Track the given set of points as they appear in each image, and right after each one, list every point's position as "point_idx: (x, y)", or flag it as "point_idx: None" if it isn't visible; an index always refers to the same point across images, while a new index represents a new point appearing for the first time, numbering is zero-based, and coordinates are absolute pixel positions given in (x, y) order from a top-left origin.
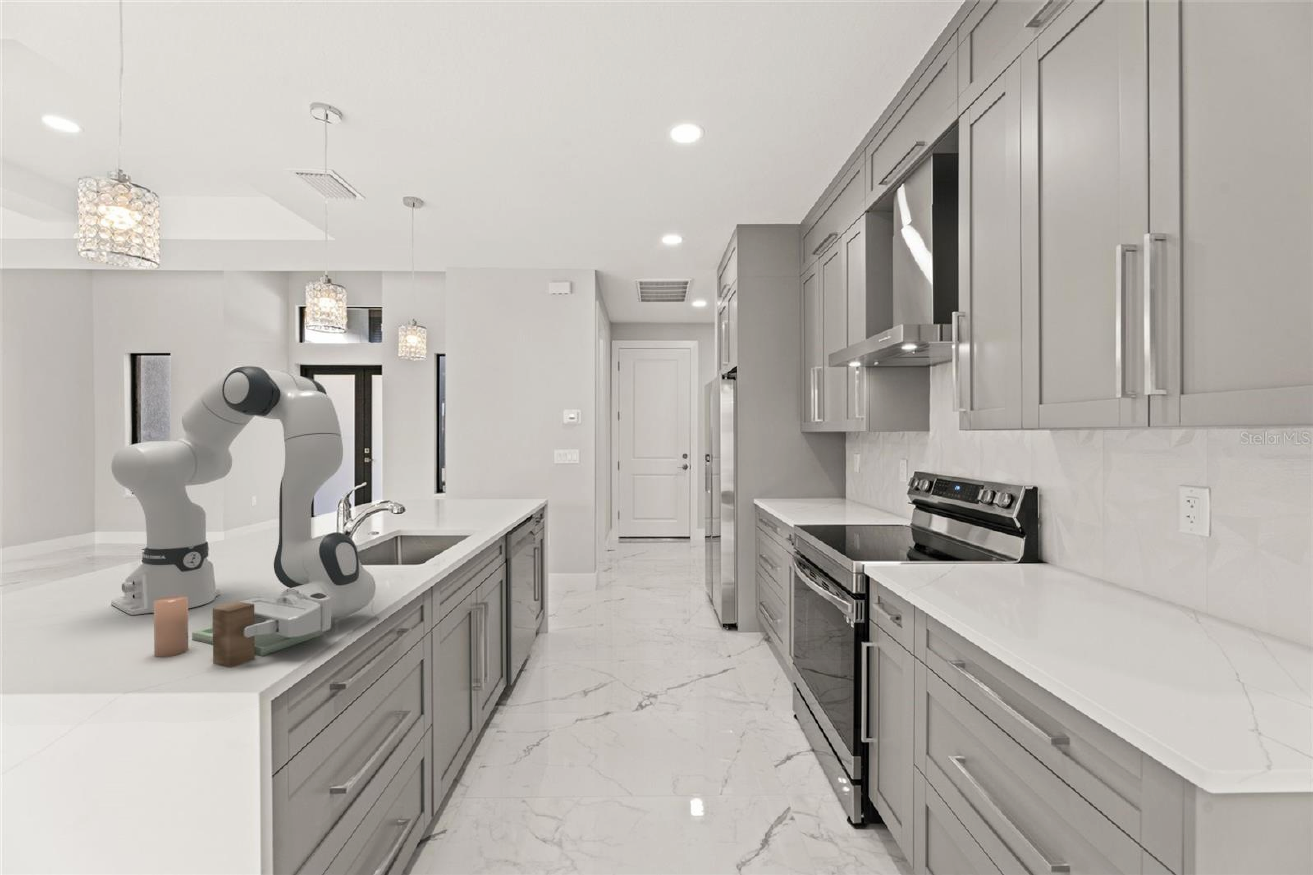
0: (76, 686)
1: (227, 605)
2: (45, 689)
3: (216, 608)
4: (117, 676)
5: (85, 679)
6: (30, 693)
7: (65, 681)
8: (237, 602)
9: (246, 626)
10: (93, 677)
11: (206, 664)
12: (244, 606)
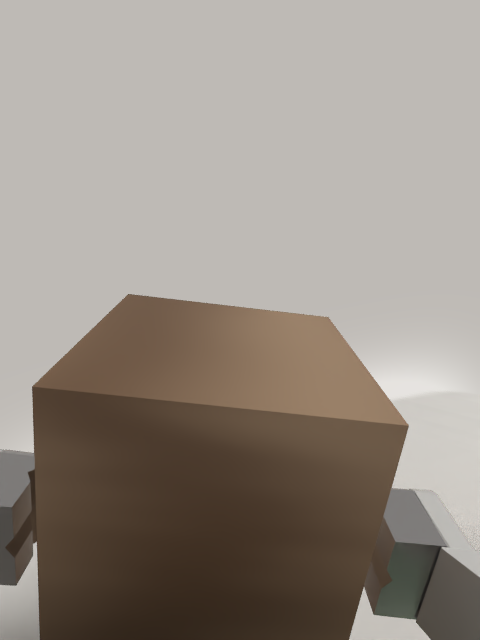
0: (412, 418)
1: (310, 346)
2: (439, 403)
3: (292, 314)
4: (425, 464)
5: (458, 440)
6: (431, 393)
7: (474, 427)
8: (357, 402)
9: (11, 461)
10: (463, 449)
11: None
12: (104, 343)
